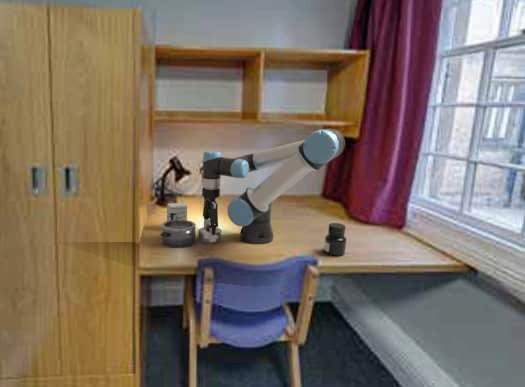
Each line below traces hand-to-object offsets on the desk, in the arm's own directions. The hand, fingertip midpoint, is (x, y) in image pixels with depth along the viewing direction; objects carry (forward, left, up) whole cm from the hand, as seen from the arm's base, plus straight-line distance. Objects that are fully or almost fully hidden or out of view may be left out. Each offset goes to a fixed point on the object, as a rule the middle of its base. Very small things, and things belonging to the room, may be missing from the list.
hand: (209, 237), depth 181 cm
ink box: (+21, -3, -2) cm, 21 cm away
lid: (0, 0, -1) cm, 1 cm away
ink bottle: (-50, -20, -2) cm, 54 cm away
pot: (+9, +10, -1) cm, 13 cm away
